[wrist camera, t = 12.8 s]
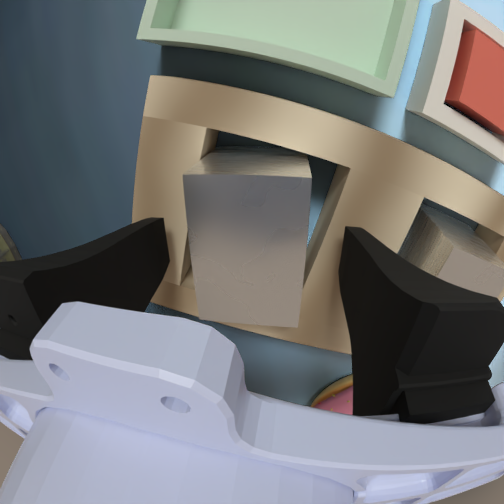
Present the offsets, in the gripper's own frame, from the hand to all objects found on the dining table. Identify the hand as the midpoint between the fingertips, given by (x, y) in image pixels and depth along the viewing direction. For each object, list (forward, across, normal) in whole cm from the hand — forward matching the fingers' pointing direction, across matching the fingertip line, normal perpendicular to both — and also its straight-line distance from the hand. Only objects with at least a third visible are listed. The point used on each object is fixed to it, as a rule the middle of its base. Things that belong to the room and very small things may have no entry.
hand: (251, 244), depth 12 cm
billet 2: (+3, -9, +2) cm, 10 cm away
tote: (+3, -2, -14) cm, 14 cm away
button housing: (+3, -10, -8) cm, 13 cm away
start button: (+3, -10, -8) cm, 13 cm away
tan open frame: (+3, -4, +1) cm, 6 cm away
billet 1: (+3, 0, 0) cm, 4 cm away
